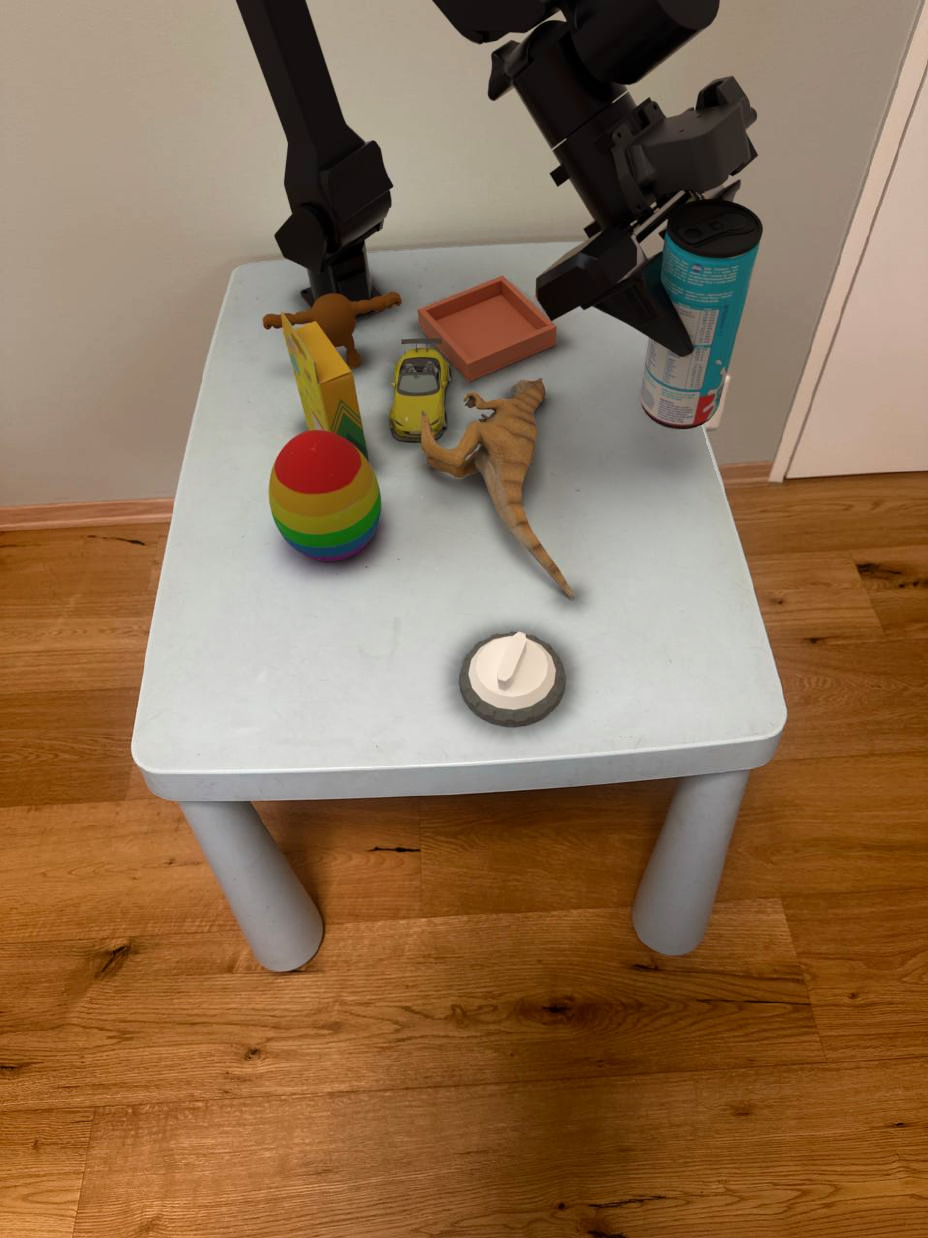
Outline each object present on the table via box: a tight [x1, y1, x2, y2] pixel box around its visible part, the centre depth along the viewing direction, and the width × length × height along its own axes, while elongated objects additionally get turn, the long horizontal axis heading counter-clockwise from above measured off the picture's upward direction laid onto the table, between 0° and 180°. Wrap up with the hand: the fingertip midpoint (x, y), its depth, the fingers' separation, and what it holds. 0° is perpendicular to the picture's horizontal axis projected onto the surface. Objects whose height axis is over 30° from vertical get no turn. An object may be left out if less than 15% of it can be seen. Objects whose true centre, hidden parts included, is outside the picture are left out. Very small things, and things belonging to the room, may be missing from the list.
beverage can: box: [639, 199, 764, 431], centre depth 64 cm, size 6×6×15 cm
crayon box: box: [280, 310, 370, 463], centre depth 73 cm, size 7×3×12 cm, turn 27°
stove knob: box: [458, 631, 566, 727], centre depth 63 cm, size 7×7×3 cm
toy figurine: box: [262, 290, 403, 369], centre depth 81 cm, size 12×4×7 cm, turn 102°
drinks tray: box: [417, 274, 558, 383], centre depth 85 cm, size 9×9×2 cm
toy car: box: [388, 337, 452, 442], centre depth 79 cm, size 5×10×3 cm, turn 178°
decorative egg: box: [268, 430, 382, 562], centre depth 68 cm, size 8×8×10 cm
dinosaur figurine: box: [420, 377, 574, 601], centre depth 72 cm, size 7×22×12 cm
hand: (711, 330), depth 64 cm, fingers closed on beverage can, 6 cm apart
